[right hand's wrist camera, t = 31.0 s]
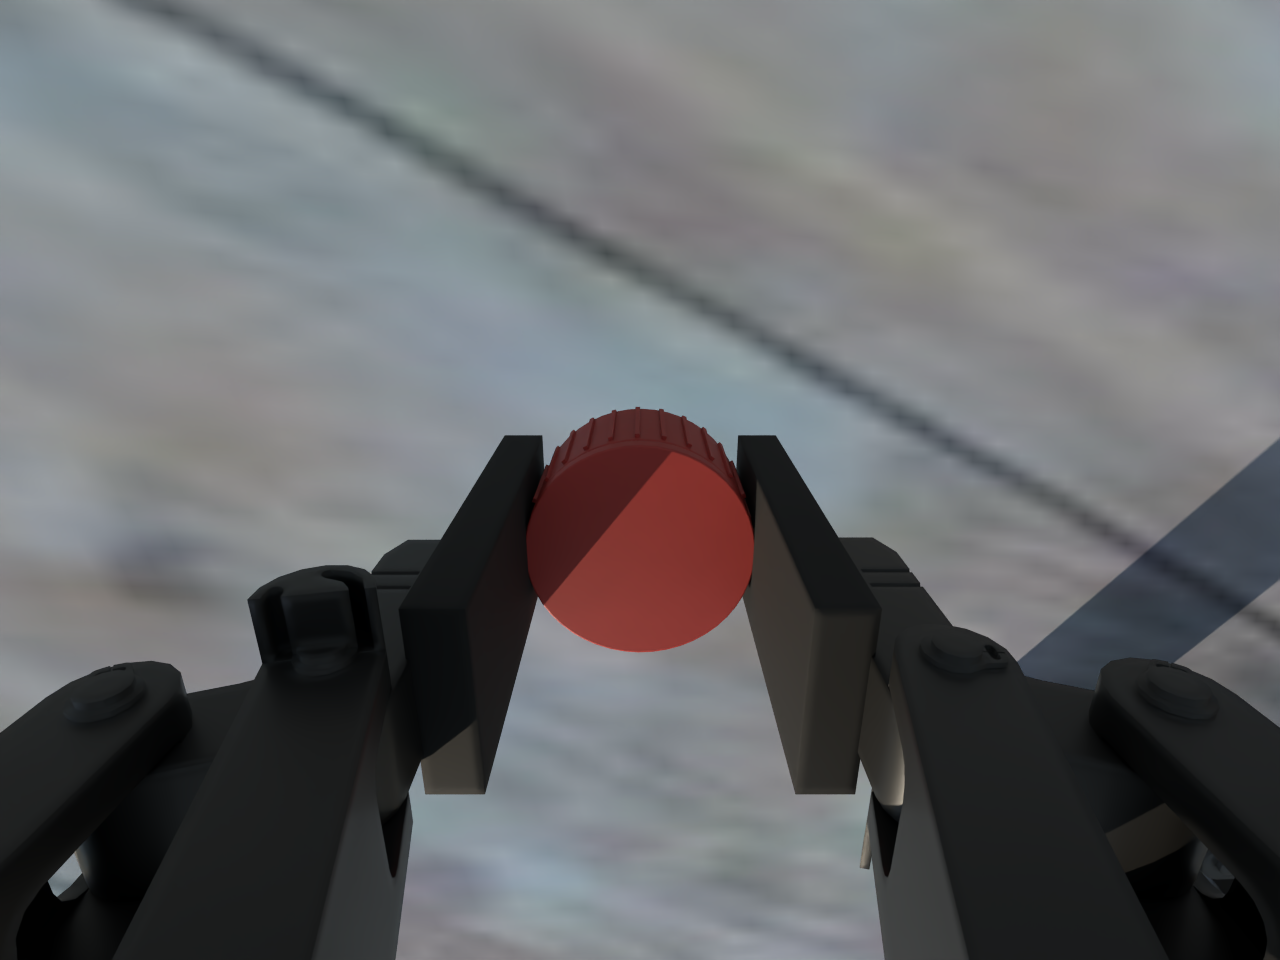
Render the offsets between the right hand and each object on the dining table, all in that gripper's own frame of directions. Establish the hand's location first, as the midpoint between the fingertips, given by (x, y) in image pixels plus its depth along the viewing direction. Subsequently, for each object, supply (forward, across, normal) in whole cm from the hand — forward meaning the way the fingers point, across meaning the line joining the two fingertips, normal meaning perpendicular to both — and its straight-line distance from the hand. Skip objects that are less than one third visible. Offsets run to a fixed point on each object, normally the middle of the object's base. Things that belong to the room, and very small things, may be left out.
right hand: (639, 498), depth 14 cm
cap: (-2, 0, 0) cm, 2 cm away
